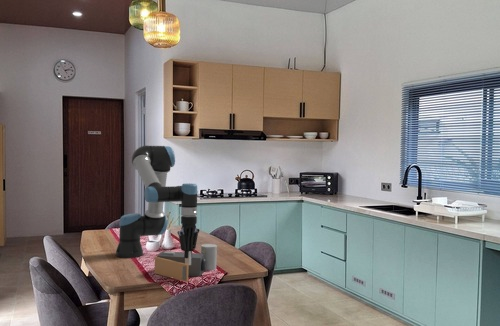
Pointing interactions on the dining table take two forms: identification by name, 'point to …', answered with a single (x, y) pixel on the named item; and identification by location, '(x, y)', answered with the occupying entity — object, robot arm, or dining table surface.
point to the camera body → (196, 261)
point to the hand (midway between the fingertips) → (188, 264)
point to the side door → (171, 269)
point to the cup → (210, 255)
